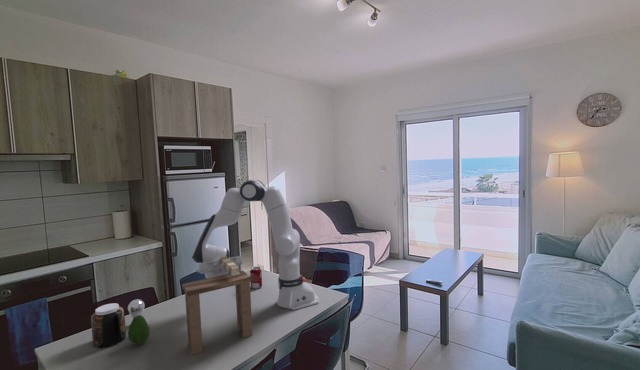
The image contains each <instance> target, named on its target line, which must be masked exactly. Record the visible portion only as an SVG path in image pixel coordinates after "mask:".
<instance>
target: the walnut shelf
mask: <svg viewBox="0 0 640 370" xmlns="http://www.w3.org/2000/svg"><path fill="white" fill-rule="evenodd" d="M239 271H240V270H239ZM233 286H235V300H236V301H235V303H236V322H237V323H236V324H237V325H236V326H237V331H238V333H239V334H240V335H241V336H242V338H243V339H246V338H248V337H251V336H253V322H252V321H253V319H252V299H251V298H252V297H251V296H252V295H251V277H250V274H247V272H245V271H244V270H241V271H240V274H238V275H234V276H232V275H231V274H230V273H227V274H226V275H221V276H217V277H212V278H207V279H206V278H203V279H199V280H195V281H194V280H193V281H189V282H184V283H182V290H183V292H184V297H185V298H184V299H185V313H186V328H187V329H186V330H187V332H186V333H187V343H188V344H187V345H188V346H187V347H188V348H189V351H190V353H191V356H194V355H197V354H200V353H202V352H203V337H202V334H203V333H202V320H201V319H202V317H201V302H200V301H201V300H200V295H201V294H204V293H209V292H214V291H218V290H222V289H225V288H230V287H233Z"/></svg>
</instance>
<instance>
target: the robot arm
mask: <svg viewBox="0 0 640 370" xmlns="http://www.w3.org/2000/svg"><path fill="white" fill-rule="evenodd" d="M246 202H261V203H262V204H263V206H264V210H265V212H266V215H267V217H268V220H269V223H270V226H271V231H272V236H273V240H274V245H275V246H274V248H275V251H276V253H278V254H279V256H278V278H277V280H278V282H277V283H278V284H277V286H278V297H277V302H276V305H277V306H278V307H280V308H283V309H289V310H293V311H294V310H300V309H302V308H305V307H310V306H314V305H317V304H319V303H320V299H319V296H318V295H317V294H316V293H315V290H314V289H313V286H311V285H309V284H308V283H306V281H307V280H306V278H305V277H304V276H303V275H302V274H301V273H300V271H301V270H300V257H301V256H300V252H301V237H300V236H301V235H300V233H299V232H298V230H297V229H295V228H293V224H292V217H291V215H290V212H289V209H288V206H287V203H286V201H285V198H284V196H283V194H282V192H281V190H280V189H279V187H278V186H274V185H273V186H267V187H266V186H265V184H264V183H263V182H262V181H260V180H258V179H249V180H246V181H244V182H243V183H242V184H241V185H240V188H237V187H231V188H228V189H227V191H226V193H225V195H224V197H223V199H222V202H221V206H220V208H219V210H218V211H217V212H216V213H215V214H212V215H211V216H210V218H209V219H208V221H207V223H206V225H205V227H204V229H203V231H202V233H201V235H200V237H199V239H198V240H197V243H196V244H195V246H194V247H193V249H192V251H191V252H192V253H191V259H193V261H194V262H195V263H199V264H198V269H197V270H196V273H199V274H200V275H202V274H203V275H204V276H205V277H204V278H205V279H207V278H212V277H217V276H221V275H226V274H230V273H229V272H228V271H227V270H226V269H225V268H224V267H223V266H222V265H221V259H219V257H222V256H226V257H228V258H229V259H230V260H231V261H232V262H234V263H235V264H236V265H237V266H238V267H239V268H240V267H241V265H242V264H243V262H244V261H243V257H242V255H237V256H231V254H230V251H229V249H228V248H227V247H226V246H222V245H221V246H220V245H214V244H209V243H208V241H209V240H210V237H211V235H212V232H213V231H215V230H216V229H218V228H222V227H227V226H229V227H230V226H232V225H234V224H236V223H237V222H238V221H240V218H241V217H242V216H241V215H242V212H243V209H244V206H245V204H246ZM230 256H231V257H230Z"/></svg>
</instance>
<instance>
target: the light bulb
mask: <svg viewBox="0 0 640 370" xmlns="http://www.w3.org/2000/svg"><path fill="white" fill-rule="evenodd" d="M145 307H146V305H145V302H144V301H143V300H142V299H138V298H137V299H133V300H132V301H130V302H129V303H128V305H127V311H128V313H129V314H130V316H131V318H132V320H133V319H134V318H135V317H136V316H138V315H141V316H142V315H143V312H144V310H145Z"/></svg>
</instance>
